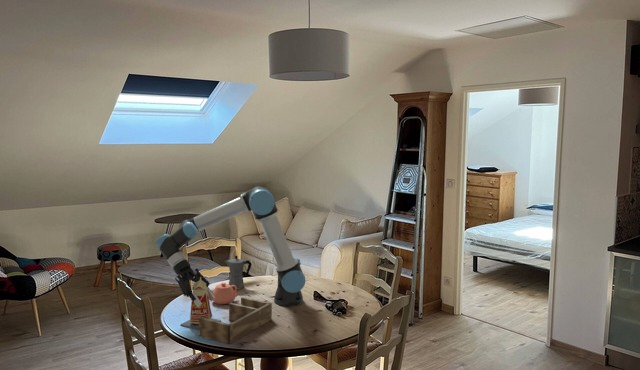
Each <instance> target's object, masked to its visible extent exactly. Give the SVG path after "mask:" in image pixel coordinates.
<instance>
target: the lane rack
mask: <svg viewBox="0 0 640 370" xmlns="http://www.w3.org/2000/svg"><path fill="white" fill-rule="evenodd" d="M272 307H273V304H272V302H268V301H263V300H259V299H254V298H249V297H244V296H242V297H240V304H239V303H238V304H237V303H233V302H231V303H228V320H229V321H232V322H231V323H226V322H223V321H221V322H219V321H214V320H210V319H206V318H202V317H201V318H199V330H198V336H199V337H201V338H205V339H209V340H211V341H212V340H213V341H217V342H221V343H224V344H229V345H231V344H233V343H235V342H236V341H238V340H240V339H241V338H243V337H245V336H246V335H248V334H249V333H251V332H253V331H254V330H256V329H258V328H260V327H261V326H263V325H264V324H266V323H268V322H269V321H271V320H272V317H273V316H272V315H273V314H272V313H273V312H272V311H273V308H272Z"/></svg>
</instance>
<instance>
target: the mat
mask: <svg viewBox="0 0 640 370" xmlns="http://www.w3.org/2000/svg"><path fill="white" fill-rule="evenodd" d="M210 320H214V321H219V322H222V320H220V319H217V318H213V317H212V318H211V319H210ZM180 326H181V327H186V328H189V329H192V330H197V331H199V324H194V323H190V319H189V320H187V321H185V322H183V323H180Z"/></svg>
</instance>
